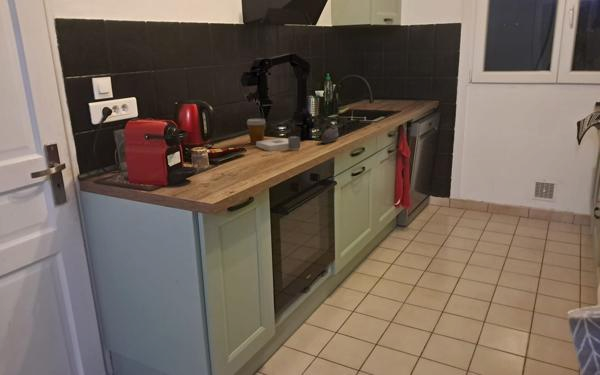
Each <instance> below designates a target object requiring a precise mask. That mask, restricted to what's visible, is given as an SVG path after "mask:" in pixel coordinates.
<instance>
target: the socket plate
mask: <svg viewBox="0 0 600 375" xmlns="http://www.w3.org/2000/svg"><path fill="white" fill-rule="evenodd" d="M255 146H256V147H257V148H260V149H263V150H265V151H268V152H274V151H280V150H287V149H289V150H290V148H289V142H288V138H286V137H282V138H275V139H267V140H266V139H265V140H264V141H256V145H255Z"/></svg>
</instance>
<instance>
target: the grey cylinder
mask: <svg viewBox="0 0 600 375" xmlns="http://www.w3.org/2000/svg"><path fill="white" fill-rule="evenodd" d="M287 139H288V142H289V150H290V151H300V148H301V139H300V137H298V135H297V136H296V135H294V136H288V138H287Z"/></svg>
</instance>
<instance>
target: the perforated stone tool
mask: <svg viewBox="0 0 600 375" xmlns="http://www.w3.org/2000/svg"><path fill="white" fill-rule="evenodd" d="M339 136H340V134H339V128H338V127H337V126H334V127H333V126H332V127H330V128H328V129H327V128H326V130H324V131H323V132H322V134H321V138H320V139H321V143H323V144H330V142H331V143H334V142H335V141H337V140H338V139H339Z"/></svg>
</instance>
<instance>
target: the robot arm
mask: <svg viewBox="0 0 600 375" xmlns="http://www.w3.org/2000/svg"><path fill="white" fill-rule="evenodd" d="M287 63H288V65H289V66H290V67H291V68H293V74H294V76H295V79H296V88H297V89H296V90H297V91H296V96H297V98H296V100H297V101H296V104H297V105H296V106H297V108H296V110H293V113H292V115H293V122H294V123H295V125H296V127H297V128H298V130H297V133H298V134H297V137H300V141H309V140H314V137H313V128H315V122H314V121H313V120H312V119H311V113H310V111H309V109H308V81H307V80H308V78H309V76H310V73H311V63H309V61H307V60H305V59H303V58H302V57H301V56H298V54H296V53H295V52H287V53H285V54H280V55H275V56H272V57H258V58H254V60H253V62H252V65H251V68H250V69H249V71H242V75H241V77H240V83H241V86H242V87H244V88H247V87H248V88H249V87H255V88H254V91H250V92H248V93H246V94H244V98H245V100H246V102H248V103H250V102H251V101H253V102H254V104H255V105H256V106H257V107H258V111H259V115H260V117H261V118H263V119H265V120H267V119H268V117H269V114H270V111H271V109H272V106H273V105H274V104H273V99H271V98H270V97H271V96H270V94H269V93H270V92H269V90H270V87H269V76H272V73H271V72H270V71H269V70H271V69H272V68H273V67H275V66H277V65H278V66H279V65H283V64H287Z"/></svg>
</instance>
